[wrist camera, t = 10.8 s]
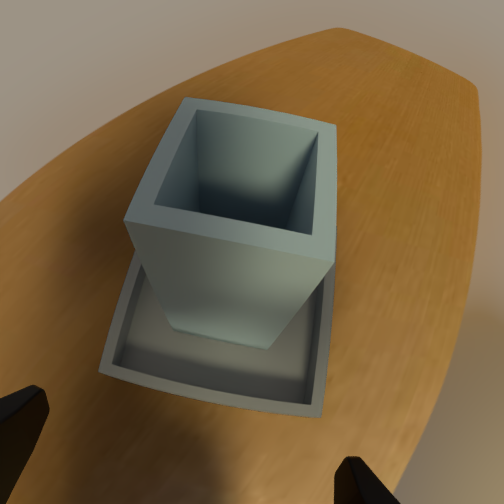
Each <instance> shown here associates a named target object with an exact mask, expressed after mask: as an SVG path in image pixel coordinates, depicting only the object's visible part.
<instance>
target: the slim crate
mask: <svg viewBox="0 0 504 504" xmlns="http://www.w3.org/2000/svg"><path fill="white" fill-rule="evenodd" d="M336 208H337V138H336V125H333V124H330V123H326V122H322V121H318V120H313V119H309V118H305V117H301V116H296V115H292V114H287V113H282V112H277V111H272V110H267V109H262V108H257V107H251V106H245V105H239V104H233V103H226V102H220V101H212V100H205V99H197V98H188V97H185V98H184V99H183V101H182V103H181V105H180V106H179V108H178V110H177V112H176V114H175V115H174V117H173V119H172V121H171V123H170V124H169V126H168V128H167V130H166V132H165V134H164V136H163V137H162V139H161V141H160V143H159V145H158V147H157V149H156V151H155V153H154V155H153V157H152V159H151V161H150V163H149V165H148V167H147V169H146V171H145V173H144V175H143V177H142V179H141V182H140V184H139V186H138V188H137V190H136V192H135V195H134V197H133V199H132V201H131V203H130V206H129V208H128V210H127V213H126V215H125V217H124V219H123V221H124V223H125V226H126V228H127V231H128V233H129V236H130V238H131V240H132V243H133V245H134V247H135V250H136V252H137V254H138V257H139V259H140V261H141V264H142V266H143V268H144V270H145V273H146V275H147V277H148V279H149V282H150V284H151V286H152V288H153V290H154V292H155V294H156V297H157V299H158V301H159V303H160V305H161V307H162V309H163V311H164V313H165V315H166V317H167V319H168V321H169V323H170V325H171V327H172V329H173V331H176V332H181V333H185V334H189V335H194V336H198V337H203V338H207V339H212V340H217V341H222V342H227V343H232V344H237V345H242V346H247V347H253V348H258V349H264V350H268V348H269V347H270V346H271V345H272V343H273V342H274V341H275V340H276V338H277V337H278V336H279V335H280V333H281V332H282V331H283V330H284V328H285V327H286V326H287V325H288V323H289V322H290V321H291V319H292V318H293V317H294V316H295V314H296V313H297V312H298V310H299V309H300V308H301V307H302V305H303V304H304V303H305V301H306V300H307V299H308V297H309V296H310V295H311V293H312V292H313V291H314V289H315V288H316V287H317V285H318V284H319V283H320V281H321V280H322V279H323V277H324V276H325V275H326V273H327V272H328V270H329V269H330V268H331V266H332V265H333V264H334V262H335V241H336Z"/></svg>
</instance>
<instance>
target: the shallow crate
mask: <svg viewBox="0 0 504 504" xmlns="http://www.w3.org/2000/svg"><path fill="white" fill-rule="evenodd" d="M336 240H337V226H336ZM335 265H336V241H335V262H334V264H333V265H332V266H331V268H330V269H329V270H328V272H327V273H326V275H325V276H324V277H323V279H322V280H321V281H320V283H319V284H318V285H317V287H316V288H315V289H314V291H313V292H312V293H311V295H310V296H309V297H308V299H307V300H306V301H305V303H304V304H303V305H302V307H301V308H300V309H299V310H298V312H297V313H296V314H295V316H294V317H293V318H292V319H291V321H290V322H289V323H288V325H287V326H286V327H285V328H284V330H283V331H282V332H281V333H280V335H279V336H278V337H277V338H276V340H275V341H274V342H273V343H272V345H271V346H270V347H269V348H268V350H264V349H258V348H253V347H247V346H242V345H237V344H232V343H227V342H222V341H217V340H212V339H207V338H203V337H198V336H194V335H189V334H185V333H181V332H176V331H173V329H172V327H171V325H170V323H169V321H168V319H167V317H166V315H165V313H164V311H163V309H162V307H161V305H160V303H159V301H158V299H157V297H156V294H155V292H154V290H153V288H152V286H151V284H150V282H149V279H148V277H147V275H146V273H145V270H144V268H143V266H142V264H141V261H140V259H139V257H138V254H137V252H136V250H135V252H134V255H133V258H132V261H131V263H130V266H129V269H128V272H127V275H126V278H125V281H124V284H123V287H122V290H121V293H120V296H119V300H118V303H117V306H116V309H115V312H114V316H113V319H112V322H111V326H110V329H109V333H108V336H107V340H106V343H105V347H104V351H103V354H102V358H101V362H100V366H99V370H98V372H100V373H102V374H105V375H108V376H110V377H113V378H116V379H119V380H123V381H126V382H129V383H133V384H136V385H140V386H143V387H147V388H150V389H154V390H158V391H162V392H166V393H170V394H174V395H178V396H182V397H186V398H191V399H195V400H200V401H204V402H209V403H214V404H219V405H225V406H230V407H236V408H242V409H248V410H254V411H260V412H267V413H275V414H283V415H291V416H300V417H312V418H321V415H322V408H323V400H324V393H325V384H326V376H327V367H328V358H329V348H330V337H331V326H332V313H333V299H334V284H335Z"/></svg>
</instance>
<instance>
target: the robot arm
mask: <svg viewBox="0 0 504 504" xmlns="http://www.w3.org/2000/svg"><path fill="white" fill-rule="evenodd" d="M48 414H49V404H48V400H47V397H46V393H45V391H44V389H42V388H40V387H38V386H36V385H30V386H28V387H26V388H23V389H21V390H19V391H16V392H14V393H12V394H10V395H7V396H5V397H2V398H0V504H6V502H7V500H8V498H9V496H10V494H11V492H12V490H13V488H14V486H15V484H16V482H17V480H18V478H19V477H20V475H21V473H22V471H23V469H24V467H25V465H26V463H27V461H28V460H29V458H30V456H31V454H32V452H33V450H34V448H35V445H36V443H37V441H38V438H39V436H40V433H41V431H42V428H43V426H44V424H45V421H46V419H47V417H48ZM334 504H400V503H399V501H398V500H397V499H396V498H395V497H394V496H393V495H392V494H391V492H390V491H389V490H388V489H387V488H386V487H385V486H384V484H383V483H382V482H381V481H380V480H379V479H378V477H377V476H376V475H375V474H374V473H373V472H372V470H371V469H370V468H369V467H368V466H367V465H366V463H365V462H364V461H363V460H362V459H361V458H360V457H357V456H348V457H346V458H345V459H344V460H343V461H342V463H341V464H340V466H339V467H338V469H337V470H336V472H335V476H334Z"/></svg>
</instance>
